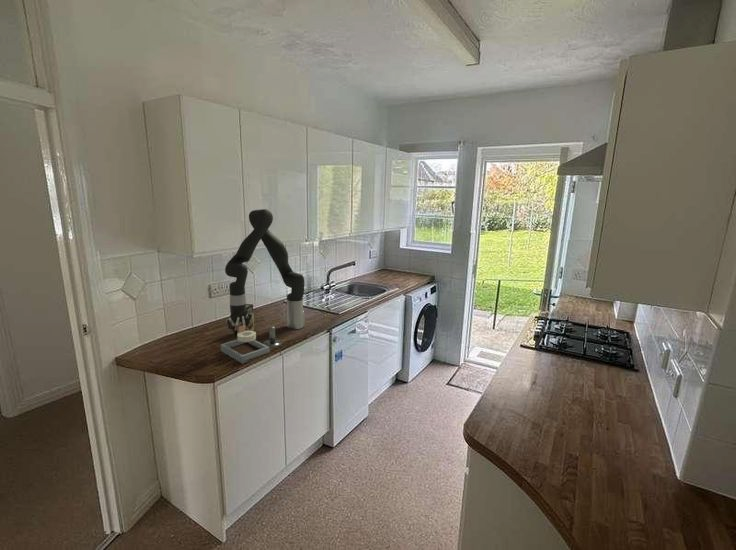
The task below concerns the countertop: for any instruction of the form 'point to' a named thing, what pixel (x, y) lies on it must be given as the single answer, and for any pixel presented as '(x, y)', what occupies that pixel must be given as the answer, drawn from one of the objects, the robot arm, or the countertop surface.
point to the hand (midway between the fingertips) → (239, 335)
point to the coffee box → (250, 311)
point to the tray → (244, 358)
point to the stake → (272, 338)
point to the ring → (245, 334)
